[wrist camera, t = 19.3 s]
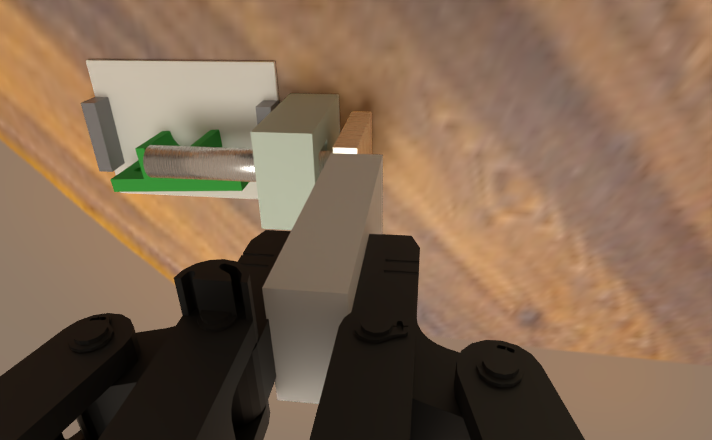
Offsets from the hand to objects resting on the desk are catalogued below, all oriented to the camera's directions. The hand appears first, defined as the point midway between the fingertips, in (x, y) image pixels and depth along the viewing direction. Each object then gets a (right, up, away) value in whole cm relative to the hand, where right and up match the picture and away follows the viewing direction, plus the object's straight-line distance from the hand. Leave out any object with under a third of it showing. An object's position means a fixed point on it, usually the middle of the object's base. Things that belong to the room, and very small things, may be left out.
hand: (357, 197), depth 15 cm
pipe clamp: (-14, +5, +29) cm, 33 cm away
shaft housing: (-3, +6, +27) cm, 28 cm away
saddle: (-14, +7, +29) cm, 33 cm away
